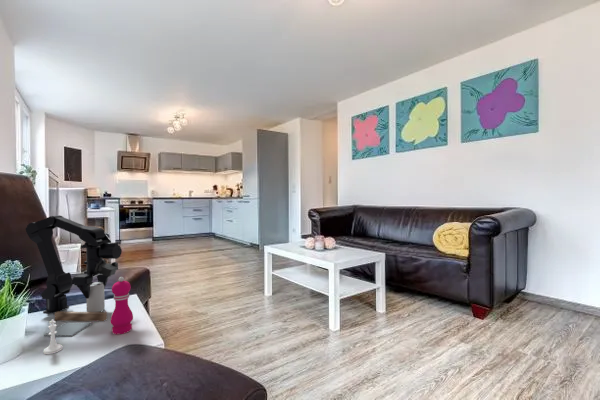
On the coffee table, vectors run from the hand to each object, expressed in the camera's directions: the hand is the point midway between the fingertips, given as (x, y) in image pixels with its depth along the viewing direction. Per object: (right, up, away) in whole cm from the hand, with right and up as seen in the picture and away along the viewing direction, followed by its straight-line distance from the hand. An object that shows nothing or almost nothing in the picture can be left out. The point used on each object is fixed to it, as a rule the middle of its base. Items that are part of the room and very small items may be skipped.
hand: (95, 294), depth 129 cm
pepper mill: (+22, -8, -17) cm, 29 cm away
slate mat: (+2, -8, -17) cm, 19 cm away
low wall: (0, -8, -8) cm, 11 cm away
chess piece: (+7, -9, -31) cm, 33 cm away
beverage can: (0, -8, 0) cm, 8 cm away
